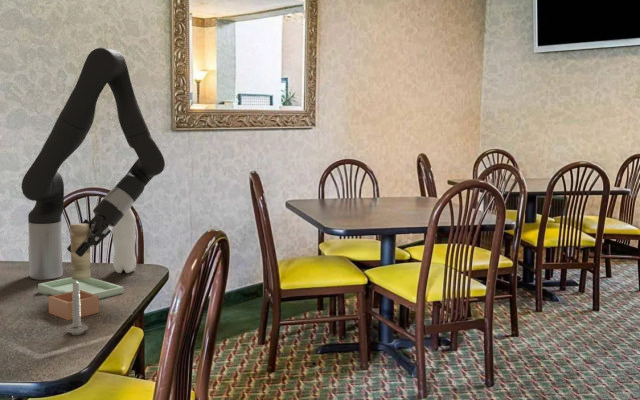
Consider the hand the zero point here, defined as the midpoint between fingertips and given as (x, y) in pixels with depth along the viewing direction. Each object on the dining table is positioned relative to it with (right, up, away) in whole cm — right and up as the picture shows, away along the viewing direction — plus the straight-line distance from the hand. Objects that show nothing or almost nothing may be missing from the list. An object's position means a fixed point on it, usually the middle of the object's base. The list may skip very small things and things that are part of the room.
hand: (73, 252), depth 176 cm
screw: (+13, -17, -31) cm, 37 cm away
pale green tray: (+1, -12, +3) cm, 12 cm away
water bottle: (+5, -9, +30) cm, 31 cm away
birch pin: (+1, -7, +2) cm, 8 cm away
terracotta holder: (+6, -14, -16) cm, 23 cm away
